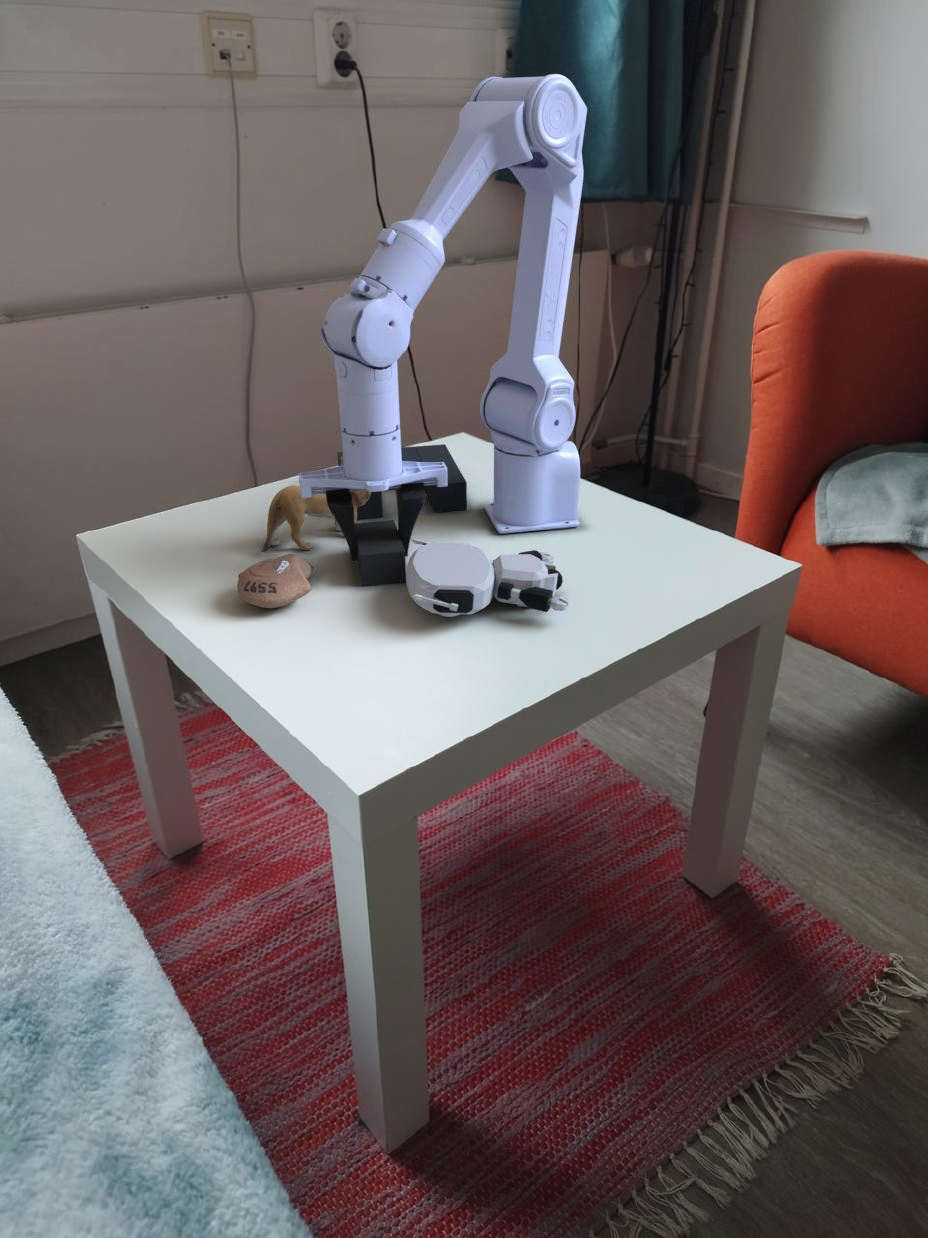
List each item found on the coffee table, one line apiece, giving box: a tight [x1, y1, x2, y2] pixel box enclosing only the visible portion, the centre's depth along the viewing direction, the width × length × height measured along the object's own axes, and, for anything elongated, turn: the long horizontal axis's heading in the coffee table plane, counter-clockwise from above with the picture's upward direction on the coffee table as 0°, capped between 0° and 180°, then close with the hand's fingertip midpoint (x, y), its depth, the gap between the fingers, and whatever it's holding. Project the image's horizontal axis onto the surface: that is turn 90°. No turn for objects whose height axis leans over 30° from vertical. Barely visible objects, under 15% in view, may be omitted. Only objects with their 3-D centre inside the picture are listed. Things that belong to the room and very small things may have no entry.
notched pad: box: [337, 443, 468, 520], centre depth 111 cm, size 14×14×4 cm
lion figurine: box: [260, 456, 371, 553], centre depth 98 cm, size 15×5×9 cm, turn 129°
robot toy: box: [405, 538, 570, 618], centre depth 86 cm, size 12×4×15 cm
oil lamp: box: [236, 553, 316, 609], centre depth 88 cm, size 9×4×8 cm
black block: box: [354, 519, 407, 587], centre depth 93 cm, size 4×8×4 cm, turn 11°
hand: (378, 554), depth 93 cm, fingers closed on black block, 4 cm apart
